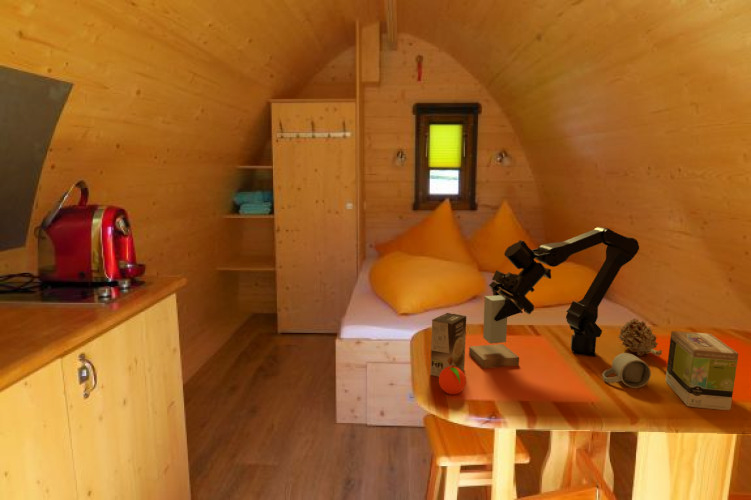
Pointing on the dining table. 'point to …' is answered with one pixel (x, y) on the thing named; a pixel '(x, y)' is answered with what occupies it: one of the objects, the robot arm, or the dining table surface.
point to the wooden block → (492, 328)
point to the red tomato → (452, 380)
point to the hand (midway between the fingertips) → (491, 317)
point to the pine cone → (639, 338)
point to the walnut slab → (493, 356)
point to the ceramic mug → (628, 371)
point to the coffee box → (448, 342)
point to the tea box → (701, 370)
